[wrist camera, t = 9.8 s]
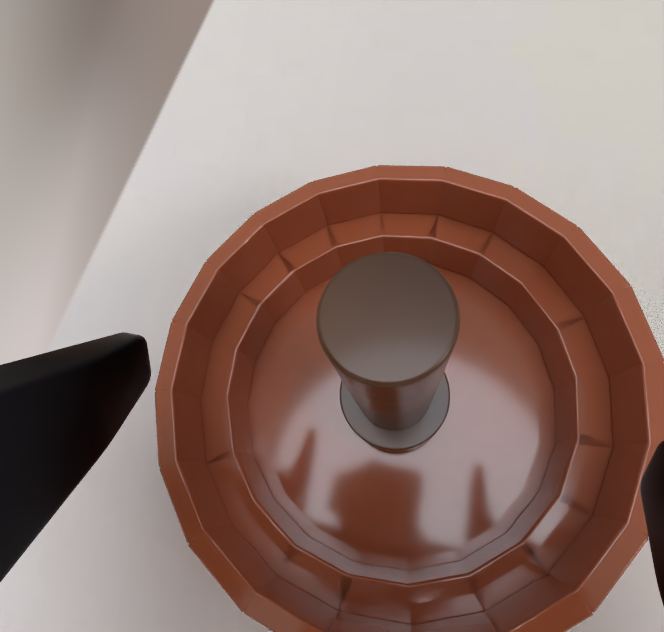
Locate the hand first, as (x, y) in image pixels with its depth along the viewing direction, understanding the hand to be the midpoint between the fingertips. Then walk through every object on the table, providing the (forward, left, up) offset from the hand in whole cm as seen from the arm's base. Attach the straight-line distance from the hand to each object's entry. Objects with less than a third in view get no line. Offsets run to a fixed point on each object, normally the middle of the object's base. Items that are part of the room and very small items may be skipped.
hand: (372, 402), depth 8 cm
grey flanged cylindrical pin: (+1, +1, -9) cm, 9 cm away
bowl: (+1, +1, -10) cm, 10 cm away
